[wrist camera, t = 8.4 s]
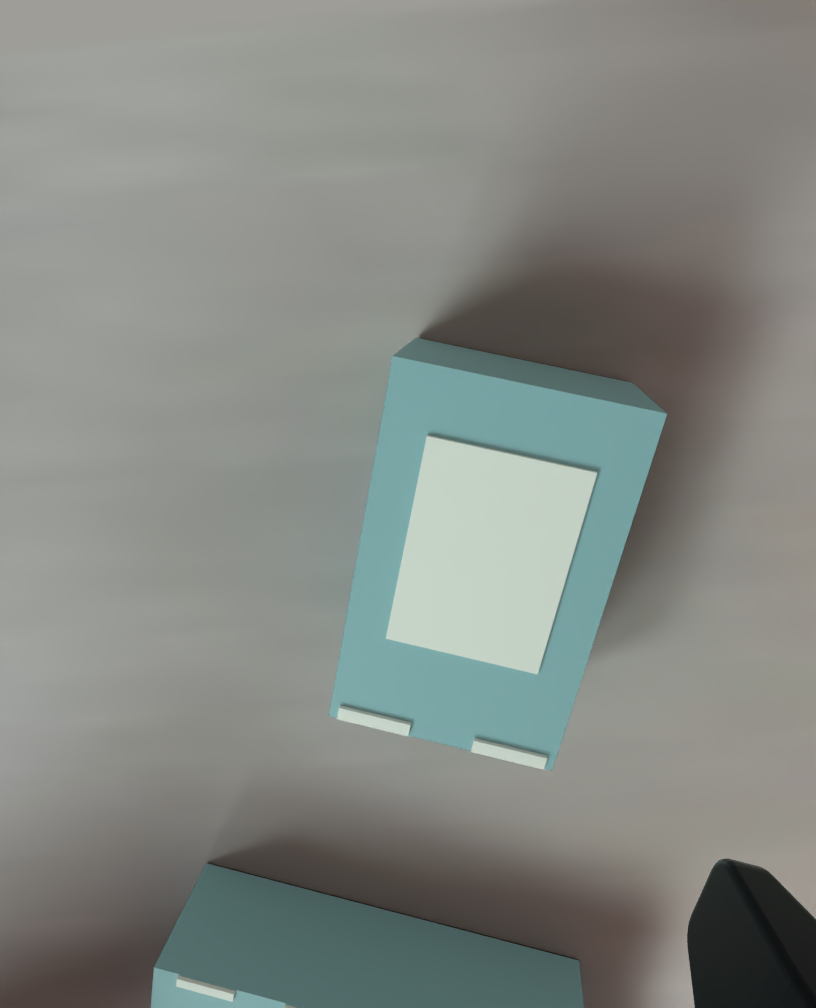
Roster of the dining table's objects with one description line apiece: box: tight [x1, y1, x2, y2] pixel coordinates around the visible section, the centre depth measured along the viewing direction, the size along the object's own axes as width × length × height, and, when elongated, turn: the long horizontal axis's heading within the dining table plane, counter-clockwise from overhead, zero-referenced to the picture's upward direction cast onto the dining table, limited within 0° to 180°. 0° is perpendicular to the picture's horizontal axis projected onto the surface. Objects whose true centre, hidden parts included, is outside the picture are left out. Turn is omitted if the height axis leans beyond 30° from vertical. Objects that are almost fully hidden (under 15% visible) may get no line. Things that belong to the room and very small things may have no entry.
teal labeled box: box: [329, 338, 667, 771], centre depth 15 cm, size 8×5×4 cm, turn 169°
